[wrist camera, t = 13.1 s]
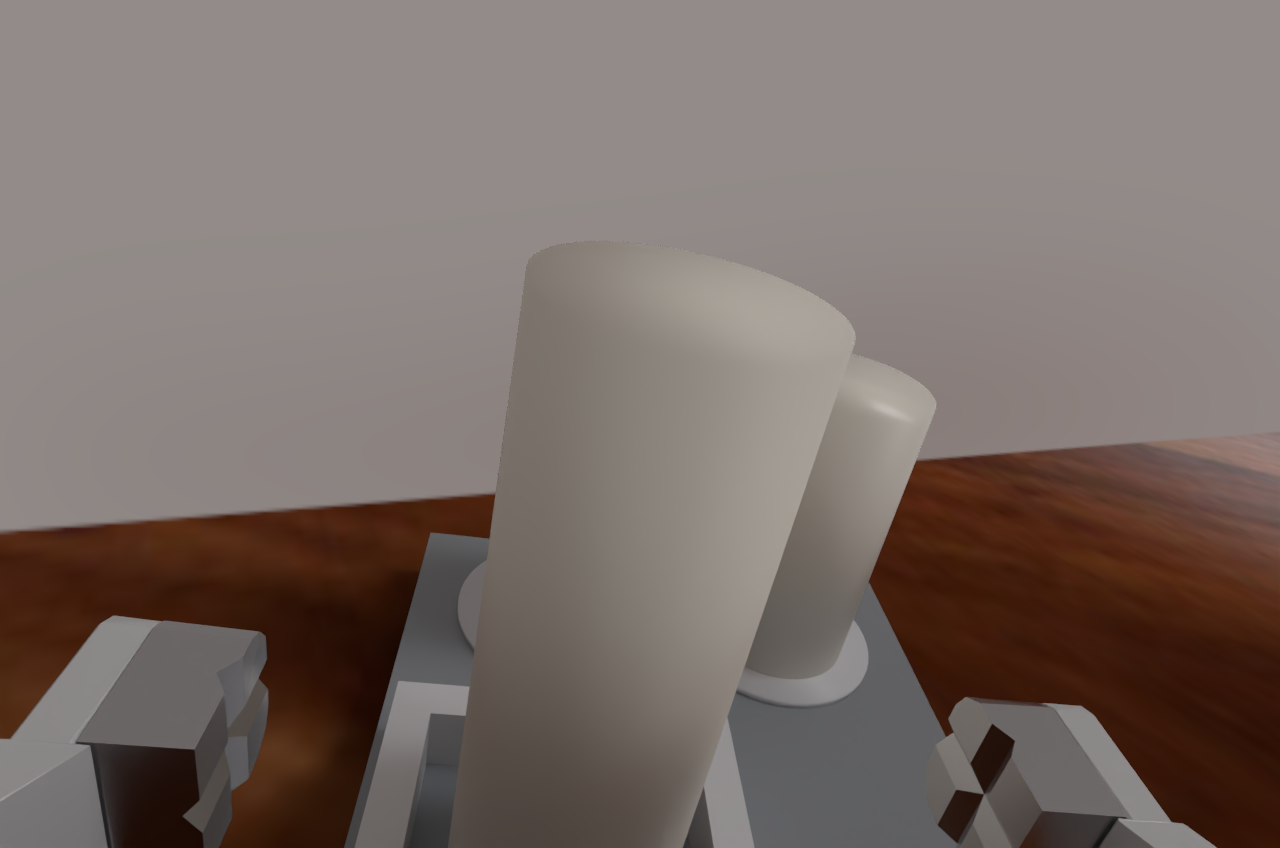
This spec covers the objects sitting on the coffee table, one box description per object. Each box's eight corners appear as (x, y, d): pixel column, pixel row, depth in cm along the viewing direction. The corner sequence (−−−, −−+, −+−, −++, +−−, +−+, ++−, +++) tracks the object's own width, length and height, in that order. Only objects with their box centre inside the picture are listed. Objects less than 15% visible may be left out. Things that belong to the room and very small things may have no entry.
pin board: (853, 614, 27) (955, 355, 23) (1156, 1292, 13) (1576, 945, 9) (427, 572, 25) (451, 278, 21) (231, 1320, 11) (177, 881, 7)
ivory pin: (646, 810, 17) (807, 271, 12) (664, 1021, 14) (905, 388, 8) (456, 798, 17) (534, 223, 11) (423, 1014, 13) (515, 328, 8)
